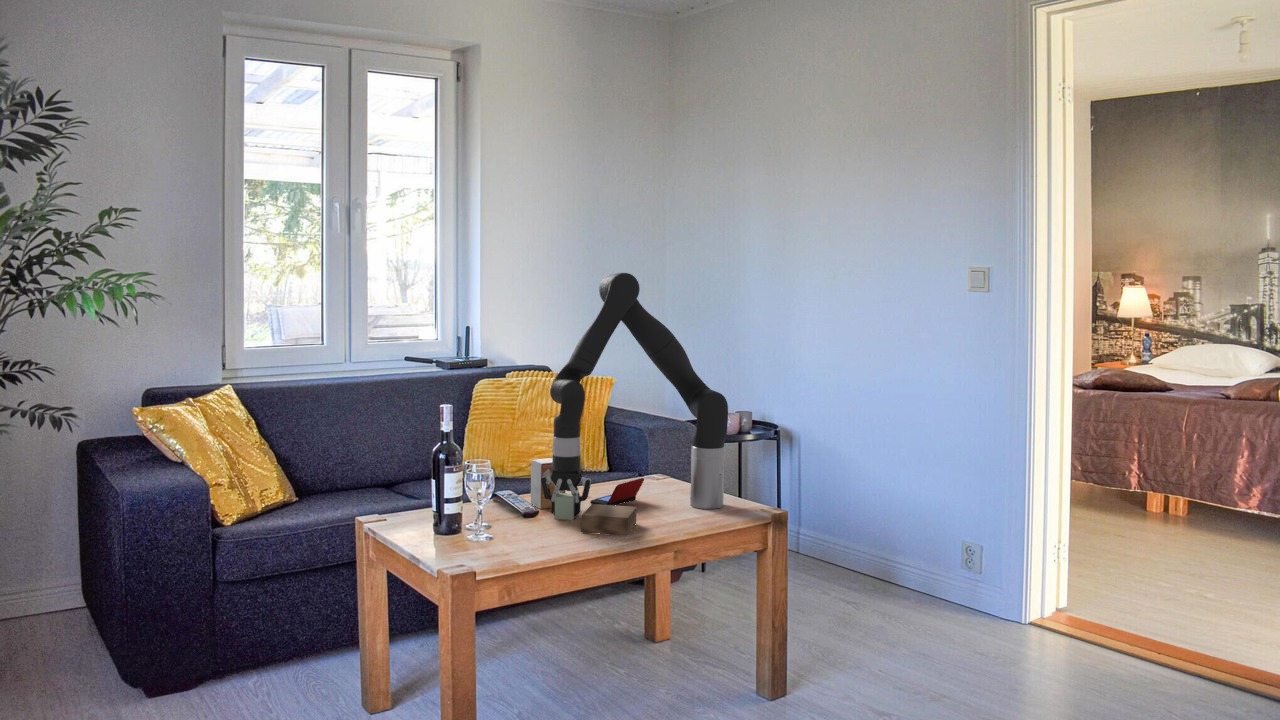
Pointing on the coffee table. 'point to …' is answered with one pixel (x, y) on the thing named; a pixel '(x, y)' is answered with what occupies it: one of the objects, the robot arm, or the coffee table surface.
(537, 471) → the small box
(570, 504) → the green block
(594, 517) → the walnut base
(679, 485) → the coffee table surface
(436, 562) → the coffee table surface
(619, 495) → the handheld game console
